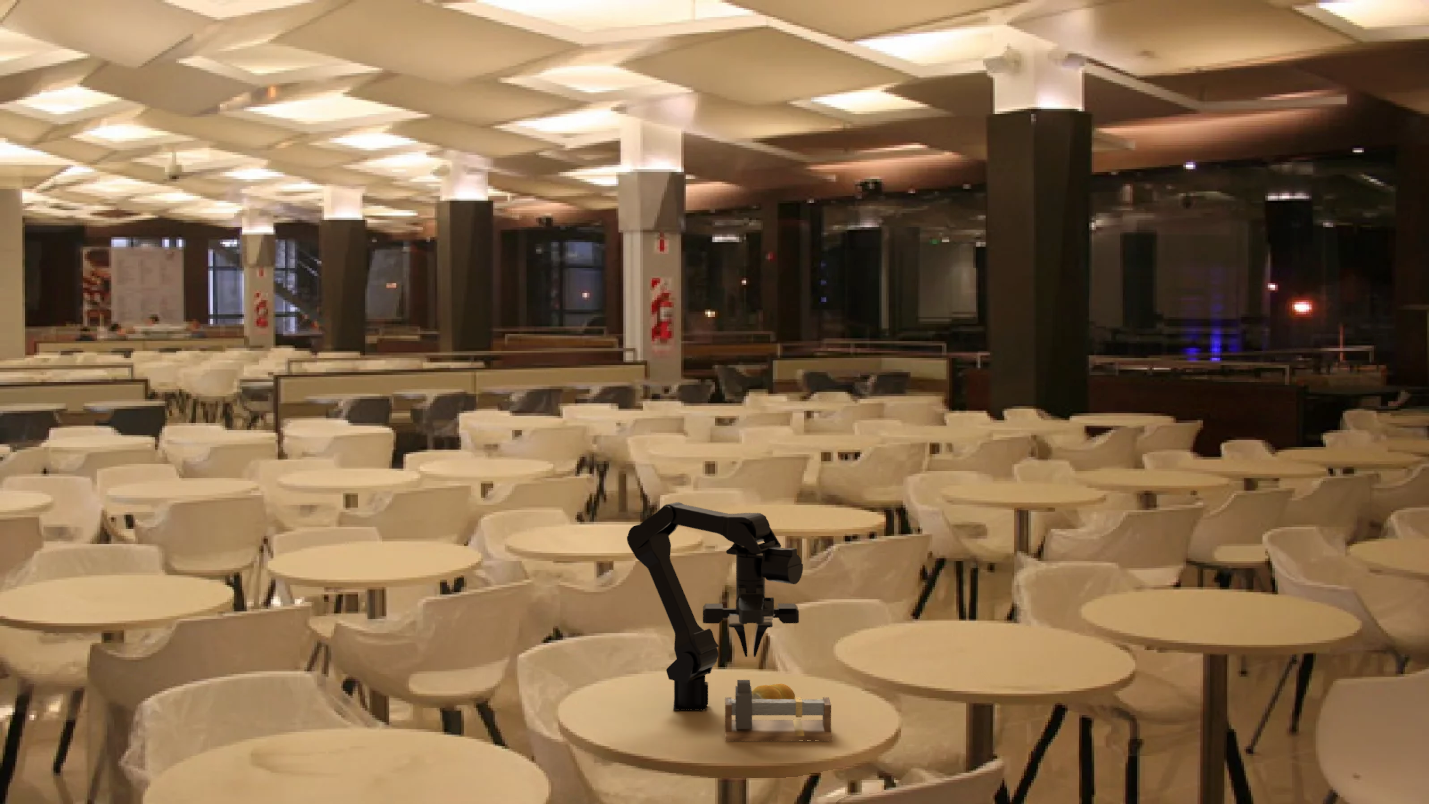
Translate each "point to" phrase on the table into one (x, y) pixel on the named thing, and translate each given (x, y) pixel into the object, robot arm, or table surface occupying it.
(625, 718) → the table surface
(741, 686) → the grey stepped block
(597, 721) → the table surface
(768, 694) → the bread roll
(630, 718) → the table surface
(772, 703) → the brushed metal beam
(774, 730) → the stand
